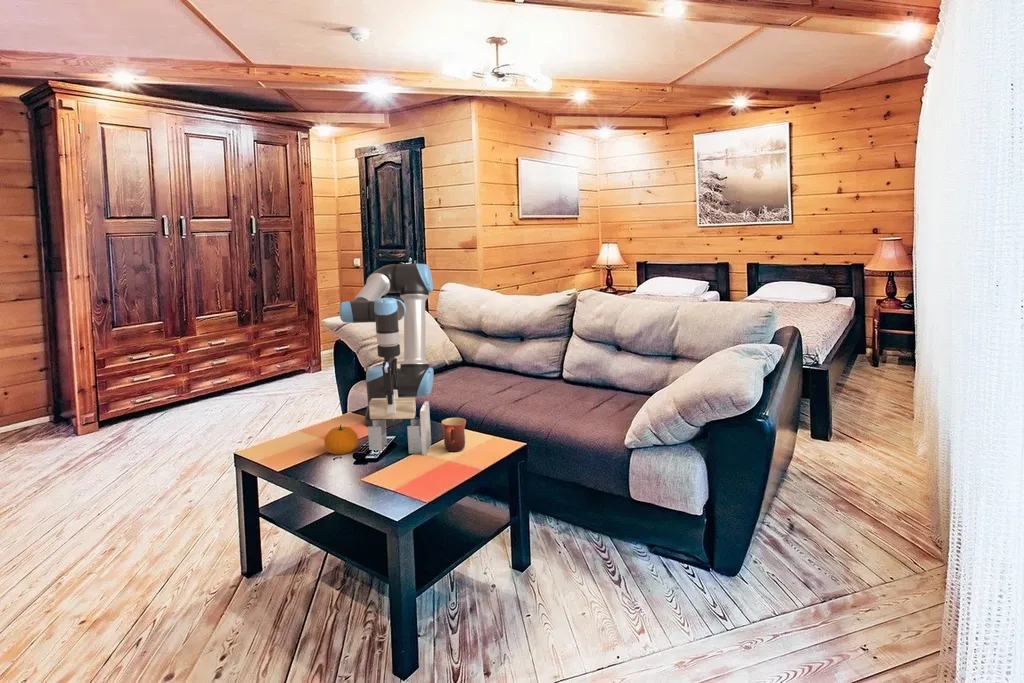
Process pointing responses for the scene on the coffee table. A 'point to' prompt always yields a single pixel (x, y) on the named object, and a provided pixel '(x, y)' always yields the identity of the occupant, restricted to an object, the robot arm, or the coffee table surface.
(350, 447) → the fruit
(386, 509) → the coffee table surface
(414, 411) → the light wooden block
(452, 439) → the mug
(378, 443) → the saddle post
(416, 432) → the cup bracket
